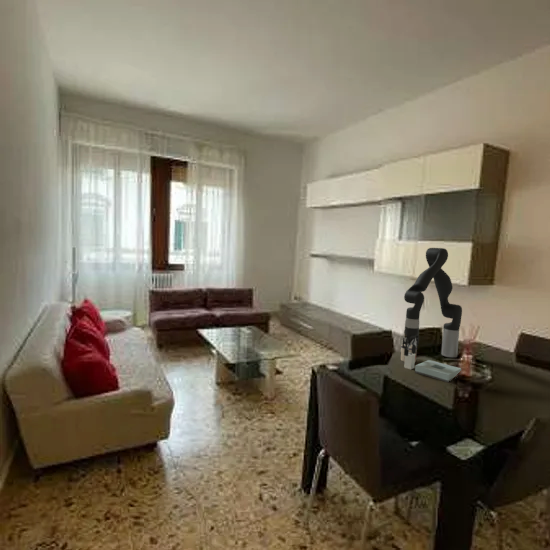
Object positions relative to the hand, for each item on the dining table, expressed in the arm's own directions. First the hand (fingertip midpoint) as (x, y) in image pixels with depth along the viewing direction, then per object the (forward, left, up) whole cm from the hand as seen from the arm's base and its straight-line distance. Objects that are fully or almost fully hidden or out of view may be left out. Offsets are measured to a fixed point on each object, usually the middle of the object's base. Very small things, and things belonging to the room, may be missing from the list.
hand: (409, 354), depth 211 cm
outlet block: (-3, +15, -8) cm, 17 cm away
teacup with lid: (-13, -7, -8) cm, 17 cm away
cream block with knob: (0, 0, -8) cm, 8 cm away
